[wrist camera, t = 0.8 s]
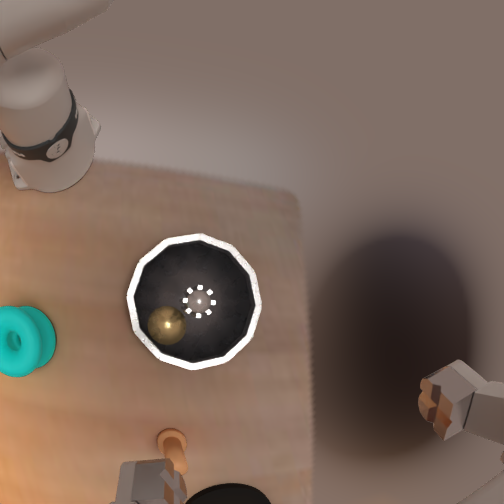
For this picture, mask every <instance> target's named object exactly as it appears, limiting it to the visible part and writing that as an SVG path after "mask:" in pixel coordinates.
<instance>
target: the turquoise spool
mask: <svg viewBox="0 0 504 504" xmlns="http://www.w3.org/2000/svg"><path fill="white" fill-rule="evenodd" d="M20 340H21V341H20ZM55 345H56V337H55V332H54V329H53V326H52V324H51V322H50V320H49V319H48V318H47V316H46V315H45V314H44V313H42V312H41V311H40V310H38V309H36V308H34V307H30V306H21V307H18V308H17V307H14V306H3V307H0V372H2V373H3V374H5V375H8V376H11V377H23V376H26V375H28V374H30V373H31V372H32V371H33V370H34V369H35V368H39V367H42V366H43V365H45V364H46V363H47V362H48V361H49V360H50V359H51V357H52V356H53V353H54V350H55Z"/></svg>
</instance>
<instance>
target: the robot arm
mask: <svg viewBox="0 0 504 504" xmlns="http://www.w3.org/2000/svg"><path fill="white" fill-rule="evenodd" d="M112 2H113V0H0V130H1V133H2V137H0V145H1V147H2V148H3V149H5V151H6V152H5V156H6V158H7V159H8V163H9V167H10V170H11V174H12V178H13V181H14V184H15V186H16V188H17V189H18V190H27V189H35V190H38V191H42V192H58V191H61V190H64V189H67V188H69V187H70V186H72V185H74V184H75V183H76V182H77V181H79V180H80V179H81V178H82V177H83V176H84V174H85V173H86V172H87V170H88V169H89V167H90V165H91V163H92V160H93V157H94V151H95V140H96V138H97V136H98V134H99V131H100V129H101V126H100V123H99V121H98V120H96V119H95V118H94V117H93V116H91V115H90V114H89V113H88V112H87V109H86V108H85V107H82V106H81V105H79V104H78V103H77V102H76V99H75V97H74V95H73V93H72V91H71V90H70V89H69V87H68V84H67V79H66V76H65V71H64V68H63V65H62V63H61V61H60V60H59V59H58V58H57V57H56V56H55V55H54V54H52V53H51V52H49V51H47V50H45V49H42V48H37V47H35V46H37V45H39V44H41V43H44V42H46V41H48V40H50V39H53V38H55V37H58V36H60V35H63V34H65V33H67V32H69V31H71V30H73V29H74V28H76V27H78V26H80V25H82V24H84V23H86V22H87V21H89V20H90V19H92V18H95V17H96V16H98V15H100V14H102V13H104V12H106V11H107V9H108V8H109V7H110V5H111V4H112ZM91 122H92V123H91ZM18 176H19V177H20V178H19V179H18ZM420 388H421V389H422V390H423V392H422V393H421V395H420V396H419V403H418V405H419V409H420V412H421V414H422V416H423V417H424V418H425V420H426V421H429V422H432V423H434V430H435V431H436V432H437V434H438V435H439V436H440V437H441V438H442V440H443V441H444V440H446V439H448V438H450V437H451V436H453V435H455V434H456V433H458V432H460V431H462V430H463V429H464V431H466V432H469V433H472V434H474V435H477V436H480V437H483V438H485V439H488V440H491V441H494V442H497V443H500V444H503V445H504V383H501V382H494V381H490V382H489V383H488V382H487V381H486V380H484V379H483V378H482V377H481V376H480V375H479V374H477V373H476V372H475V371H474V370H472V369H471V368H470V367H469V366H468V365H466V364H465V363H464V362H463V361H461V360H457V361H455V362H453V363H451V364H449V365H447V366H446V367H443V368H442V369H440V370H438V371H436V372H434V373H432V374H431V375H429V376H427V377H425V378H423V379H422V381H421V385H420ZM500 460H501V461H502V462H503V463H504V451H503V453H502V455H501V458H500ZM186 498H187V489H186V485H185V481H184V479H183V477H182V475H181V474H180V472H178V471H176V470H174V464H173V462H172V461H171V460H170V458H164V459H154V460H142V461H130V462H123V464H122V465H121V468H120V474H119V480H118V486H117V493H116V500H115V502H111V503H110V504H184V503H183V502H184V501H185V499H186ZM457 504H504V470H503V471H501V472H500V473H499V474H498V475H496V476H495V477H494V478H492V479H491V480H490V481H488V482H487V483H486V484H484V485H483V486H482V487H480V488H479V489H477V490H476V491H475V492H473V493H472V494H470V495H469V496H468V497H466V498H465V499H463V500H462V501H460V502H459V503H457Z"/></svg>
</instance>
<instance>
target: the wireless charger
mask: <svg viewBox="0 0 504 504" xmlns="http://www.w3.org/2000/svg"><path fill="white" fill-rule="evenodd" d="M185 504H271V503H270V501H269V500H268V499H267V497H266V496H265V495H264V494H263V493H262V492H261V491H259V490H258V489H256V488H254V487H252V486H248V485H245V484H238V483H227V484H220V485H215V486H211V487H209V488H206V489H204V490H202V491H200V492H198V493H196V494H195V495H194V496H192V497H191V498H190V499H189V500H188V501H187V502H186V503H185Z"/></svg>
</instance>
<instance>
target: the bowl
mask: <svg viewBox="0 0 504 504" xmlns="http://www.w3.org/2000/svg"><path fill="white" fill-rule="evenodd" d="M139 262H140V263H139ZM139 262H138V264H137V267H136V269H135V272H134V275H133V278H132V281H131V283H130V286H129V289H128V292H127V295H128V296H127V302H128V307H129V312H130V317H131V322H132V327H133V331H135V332H134V333H135V334H136V335H137V336H138V338H139V339H140V340H141V341H142V342H143V343H144V344H145V346H146V347H147V348H148V349H149V350H150V351H151V352H152V353H153V354H154V355H155V357H156V358H157V359H158V358H159V360H161V361H164V362H167V363H171V364H174V365H177V366H180V367H183V368H187V369H190V370H192V369H193V370H197V369H201V368H205V367H210V366H214V365H218V364H222V363H226V361H227V362H228V361H229V360H230V359H231V358H232V357H233V356H234V355H235V354H236V353H238V352H239V351H240V350H241V349H242V348H243V347H244V346H245V345H246V344H247V343H248V342H249V341H250V340H251V338H252V337H253V334H254V331H255V328H256V324H257V321H258V318H259V315H260V311H261V308H262V306H260V305H262V302H261V298H260V293H259V288H258V283H257V278H256V273H254V272H255V271H254V270H253V269H252V268H251V266H250V265H249V264H248V263H247V262H246V260H245V259H244V258H243V257H242V256H241V255H240V253H239V252H238V251H237V250H236V249H235V247H234V246H233V247H232V245H230V244H227V243H225V242H222V241H220V240H217V239H215V238H212V237H209V236H207V235H204V234H202V233H201V235H200V233H199V234H192V235H185V236H179V237H172V238H167V240H166V239H165V240H164V241H162V242H161V243H160V244H159V245H157V246H156V247H155V248H154V249H153V250H151V251H150V252H149V253H148V254H147V255H145V256H144V257H143V258H142V259H141V260H139ZM250 337H251V338H250Z"/></svg>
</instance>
